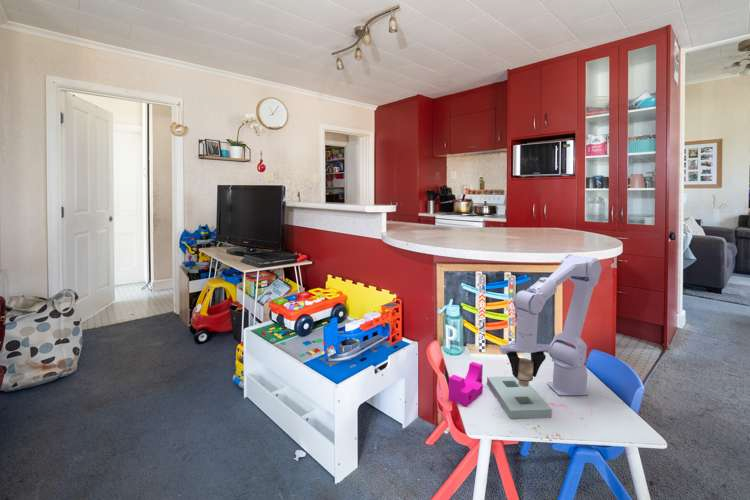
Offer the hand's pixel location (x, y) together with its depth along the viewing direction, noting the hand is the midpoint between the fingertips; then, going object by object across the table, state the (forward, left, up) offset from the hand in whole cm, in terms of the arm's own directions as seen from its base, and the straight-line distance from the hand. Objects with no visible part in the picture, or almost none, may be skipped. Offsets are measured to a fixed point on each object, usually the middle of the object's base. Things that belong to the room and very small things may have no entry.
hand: (524, 375), depth 113 cm
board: (0, -4, -10) cm, 11 cm away
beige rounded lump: (0, 0, -3) cm, 3 cm away
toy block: (+14, -8, -10) cm, 19 cm away
